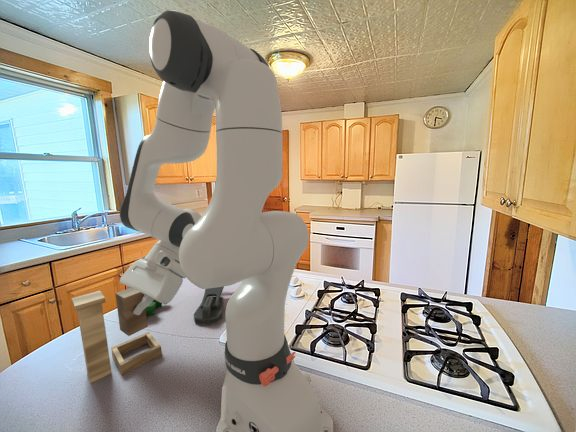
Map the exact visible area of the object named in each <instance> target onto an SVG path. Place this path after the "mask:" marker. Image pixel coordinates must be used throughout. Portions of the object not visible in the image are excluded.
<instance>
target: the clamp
mask: <svg viewBox="0 0 576 432" xmlns="http://www.w3.org/2000/svg"><path fill="white" fill-rule="evenodd" d="M162 306H163V303H160V302H158V301H156V300H153V302H152V303H151V304H150V305H149V306H147V307H146V308H145V309H146V315H148V316H154V314H155V309H156V308H162Z"/></svg>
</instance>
